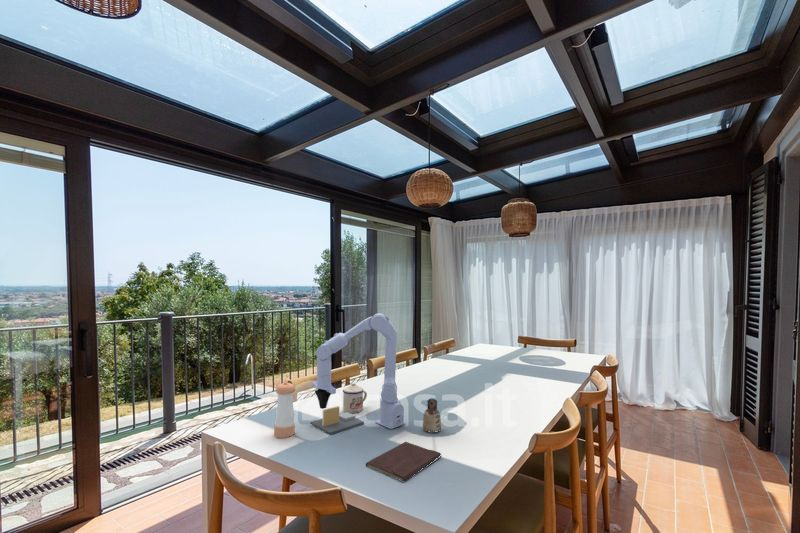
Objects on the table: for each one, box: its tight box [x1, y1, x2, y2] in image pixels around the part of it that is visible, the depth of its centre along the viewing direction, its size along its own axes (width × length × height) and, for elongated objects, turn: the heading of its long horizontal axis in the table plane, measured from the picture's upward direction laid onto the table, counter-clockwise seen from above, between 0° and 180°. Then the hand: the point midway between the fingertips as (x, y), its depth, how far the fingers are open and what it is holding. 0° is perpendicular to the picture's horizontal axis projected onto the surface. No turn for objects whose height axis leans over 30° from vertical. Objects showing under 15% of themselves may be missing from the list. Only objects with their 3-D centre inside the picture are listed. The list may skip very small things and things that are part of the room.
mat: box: [309, 412, 365, 436], centre depth 150 cm, size 14×16×1 cm
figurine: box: [422, 397, 442, 432], centre depth 146 cm, size 7×7×12 cm
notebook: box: [365, 441, 442, 482], centre depth 119 cm, size 15×20×2 cm
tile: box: [321, 405, 340, 426], centre depth 148 cm, size 1×7×6 cm, turn 134°
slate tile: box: [339, 411, 356, 422], centre depth 154 cm, size 6×5×1 cm
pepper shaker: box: [273, 381, 296, 439], centre depth 140 cm, size 7×7×19 cm
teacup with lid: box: [342, 382, 368, 414], centre depth 167 cm, size 12×9×12 cm
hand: (323, 408), depth 152 cm, fingers closed
